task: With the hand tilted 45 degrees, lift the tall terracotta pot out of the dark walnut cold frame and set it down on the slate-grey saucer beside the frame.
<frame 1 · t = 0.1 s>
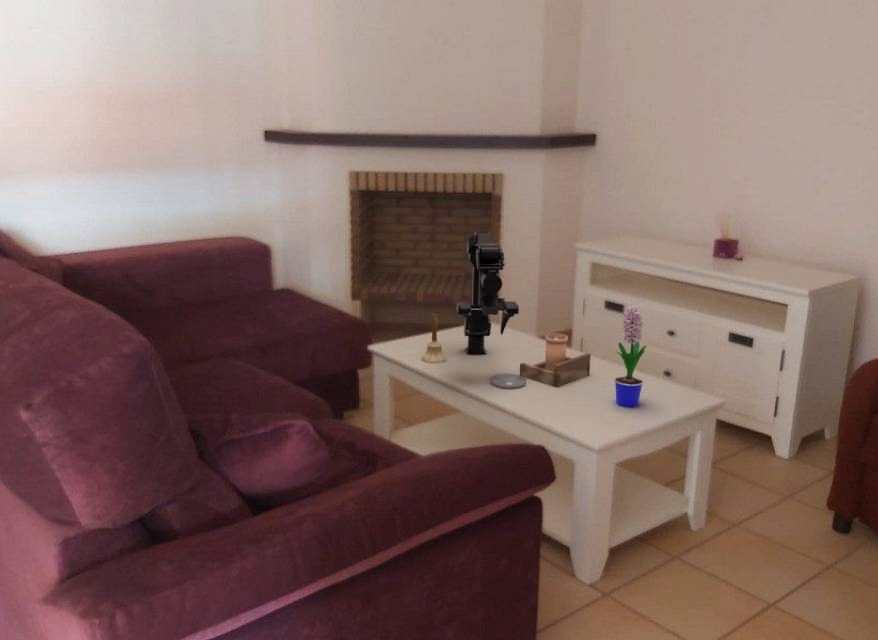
hand: (486, 334, 266), 15 cm above the table, tool pointing down, fingers open, 9 cm apart
hand bell: (434, 359, 288), on the table
cold frame: (554, 375, 274), on the table
pot: (554, 375, 274), resting in cold frame
saucer: (508, 383, 266), on the table
hyacinth: (628, 403, 251), on the table
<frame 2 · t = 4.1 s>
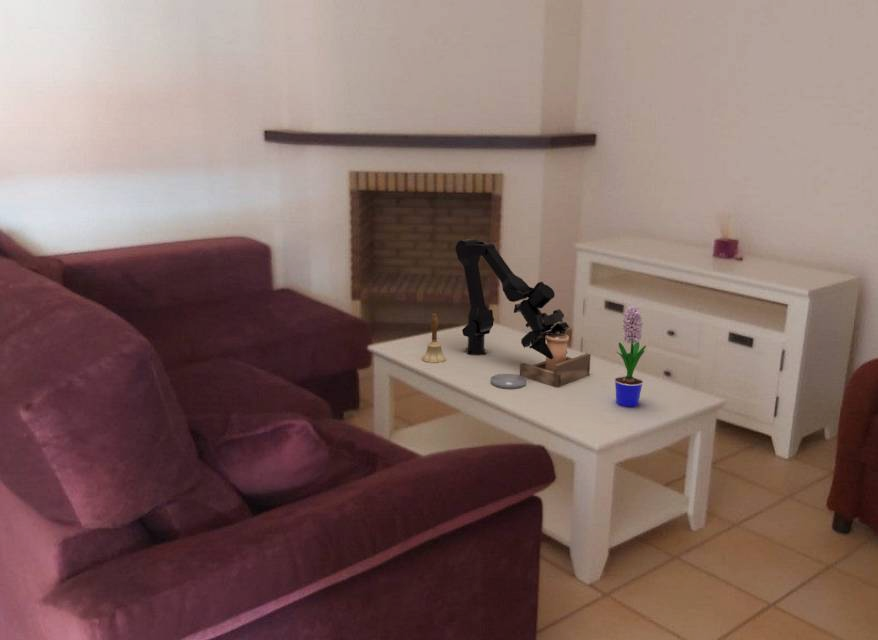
hand: (559, 356, 271), 7 cm above the table, tool tilted 45°, fingers closed on pot, 7 cm apart
pot: (554, 375, 274), resting in cold frame, touching gripper
everything else where it was.
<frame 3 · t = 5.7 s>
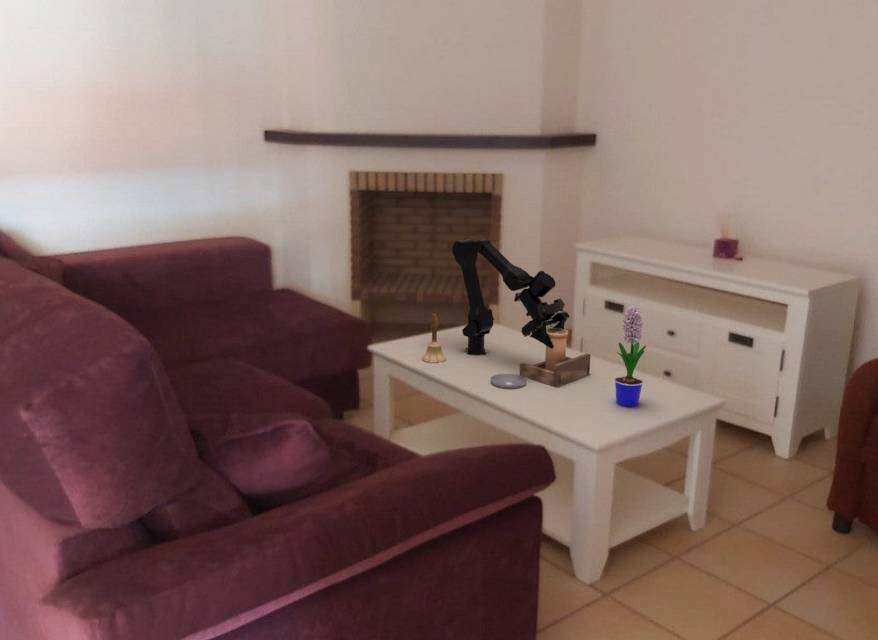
hand: (559, 345, 270), 10 cm above the table, tool tilted 45°, fingers closed on pot, 7 cm apart
pot: (554, 369, 273), point 2 cm above the table, touching gripper
everything else where it was.
when the fingers open (10 cm above the table, at t = 11.9 s): pot stays where it is, resting on saucer.
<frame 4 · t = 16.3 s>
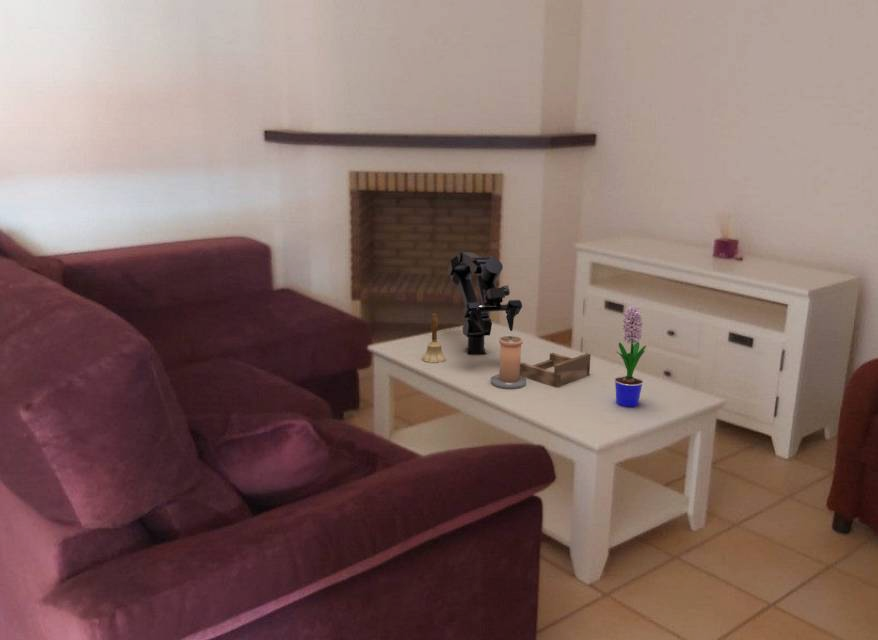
hand: (498, 331, 273), 14 cm above the table, tool tilted 45°, fingers open, 9 cm apart
pot: (509, 379, 266), point 1 cm above the table, touching saucer
everything else where it was.
at the end: pot 0.4 cm off-centre on the saucer, point 1.2 cm above the saucer's base; pot tilted 0°; the gripper is holding nothing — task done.
